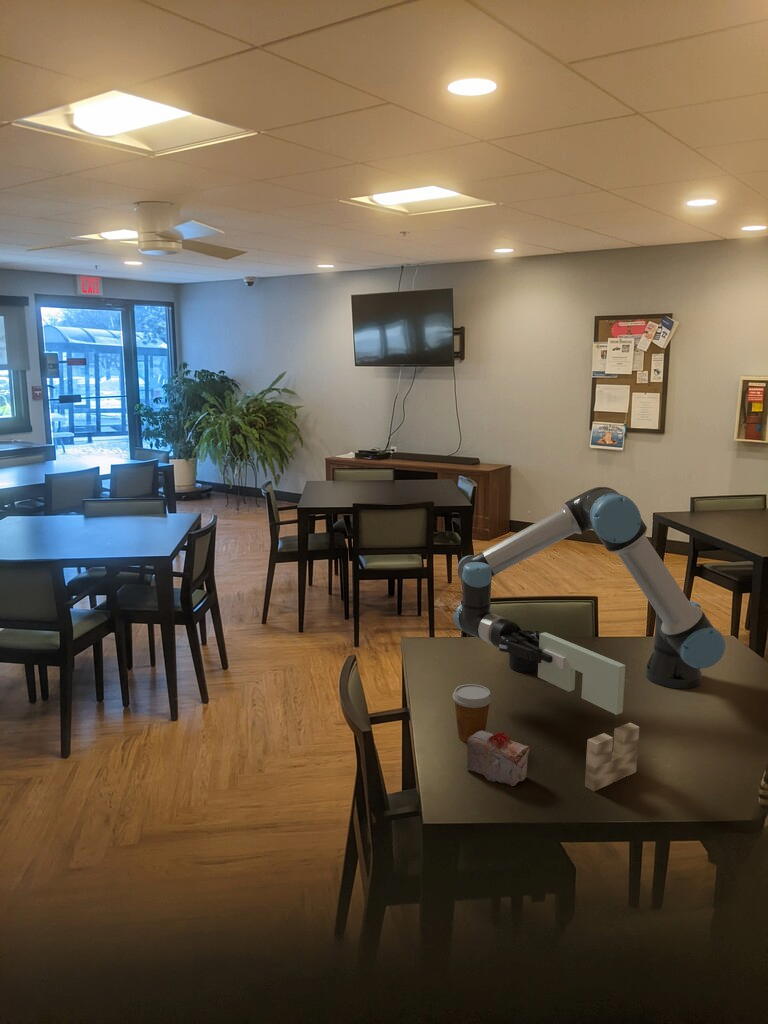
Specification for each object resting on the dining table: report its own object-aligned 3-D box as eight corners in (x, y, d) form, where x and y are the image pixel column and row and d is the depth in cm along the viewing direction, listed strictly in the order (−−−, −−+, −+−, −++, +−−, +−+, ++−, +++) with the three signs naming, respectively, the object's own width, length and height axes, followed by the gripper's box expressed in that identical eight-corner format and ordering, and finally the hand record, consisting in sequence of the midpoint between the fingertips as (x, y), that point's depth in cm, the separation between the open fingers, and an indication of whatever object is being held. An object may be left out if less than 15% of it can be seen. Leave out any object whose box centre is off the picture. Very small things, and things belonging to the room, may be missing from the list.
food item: (533, 777, 172) (534, 736, 170) (516, 793, 166) (518, 751, 164) (479, 758, 180) (480, 719, 178) (461, 773, 174) (462, 732, 172)
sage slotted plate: (537, 676, 188) (539, 633, 186) (543, 675, 189) (545, 632, 187) (616, 714, 168) (619, 667, 166) (622, 712, 169) (625, 665, 167)
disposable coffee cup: (489, 748, 185) (490, 701, 182) (449, 744, 187) (450, 698, 184) (492, 729, 194) (493, 685, 192) (454, 726, 196) (454, 681, 193)
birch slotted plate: (627, 767, 176) (630, 722, 174) (636, 772, 174) (639, 726, 172) (584, 786, 169) (587, 739, 167) (593, 791, 167) (596, 744, 164)
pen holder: (544, 665, 234) (546, 634, 232) (532, 676, 226) (534, 643, 224) (515, 659, 239) (516, 628, 237) (502, 669, 231) (503, 637, 229)
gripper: (521, 640, 204) (590, 670, 185) (477, 652, 196) (543, 684, 177) (522, 613, 203) (591, 640, 183) (477, 624, 195) (545, 653, 175)
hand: (568, 662), depth 180 cm, fingers closed on sage slotted plate, 2 cm apart
